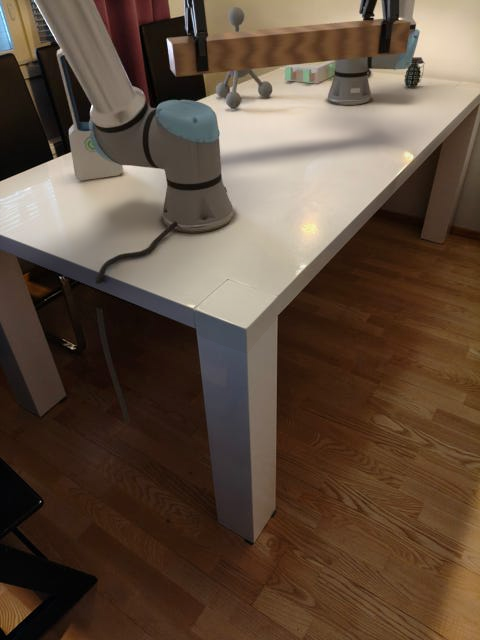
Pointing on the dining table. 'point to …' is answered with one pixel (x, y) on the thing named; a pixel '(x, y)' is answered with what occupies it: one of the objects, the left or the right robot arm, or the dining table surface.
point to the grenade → (413, 72)
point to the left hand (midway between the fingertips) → (199, 67)
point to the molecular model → (239, 71)
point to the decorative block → (310, 72)
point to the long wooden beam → (286, 46)
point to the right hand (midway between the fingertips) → (374, 49)
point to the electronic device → (84, 139)
